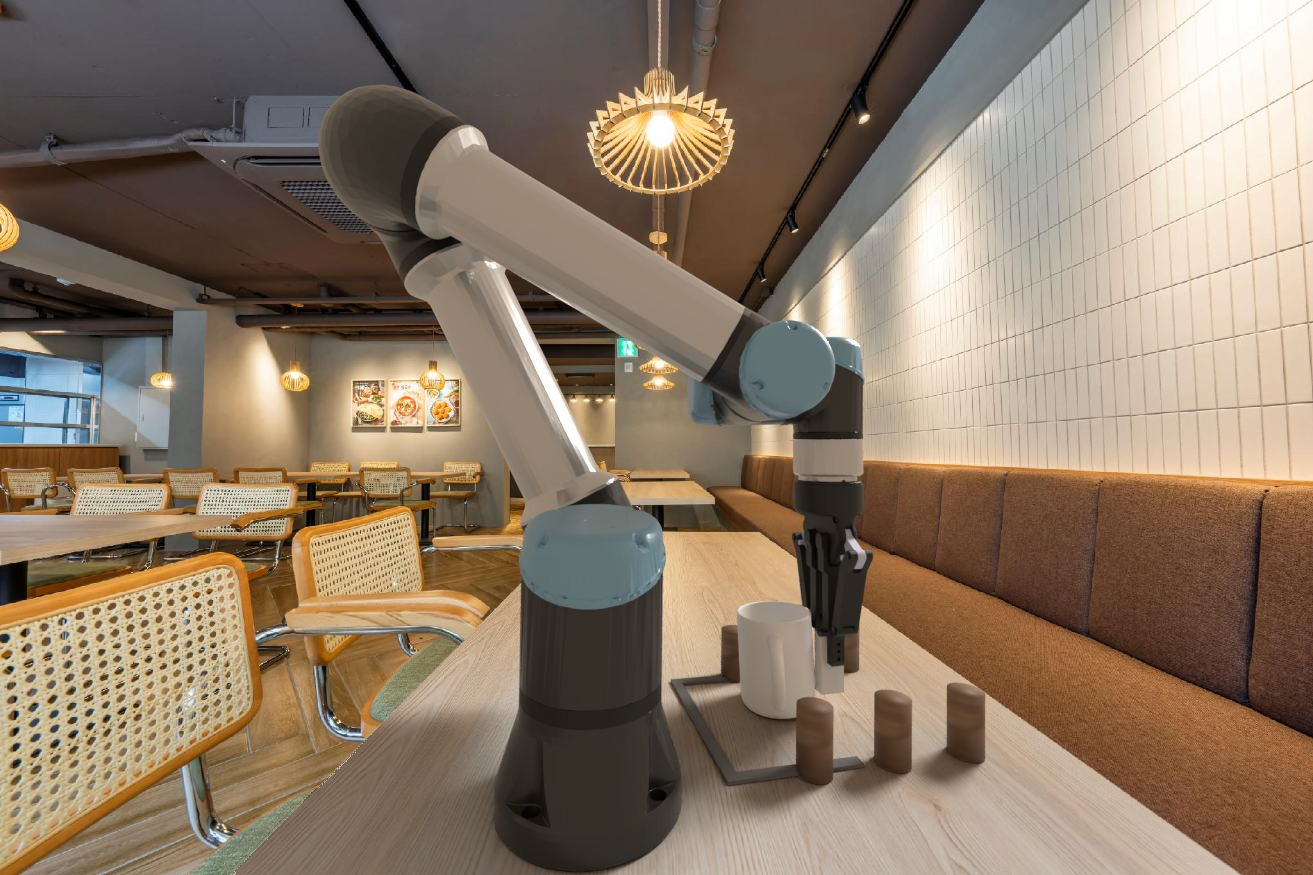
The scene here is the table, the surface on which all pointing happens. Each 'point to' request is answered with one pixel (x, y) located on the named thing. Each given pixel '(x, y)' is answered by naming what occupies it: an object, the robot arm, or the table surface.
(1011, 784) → the table surface
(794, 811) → the table surface
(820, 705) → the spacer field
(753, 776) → the frame
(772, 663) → the mug
